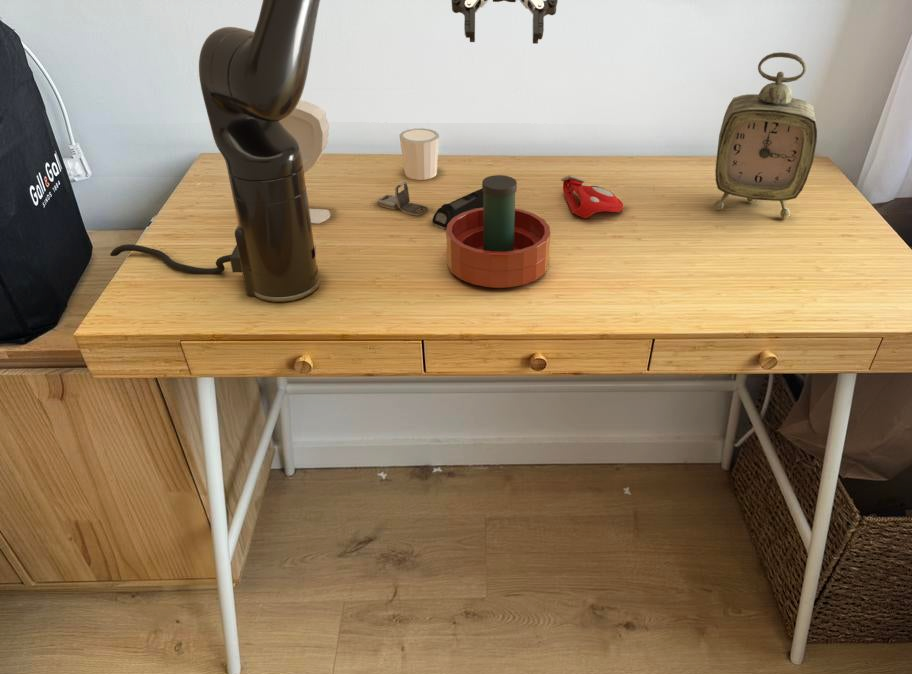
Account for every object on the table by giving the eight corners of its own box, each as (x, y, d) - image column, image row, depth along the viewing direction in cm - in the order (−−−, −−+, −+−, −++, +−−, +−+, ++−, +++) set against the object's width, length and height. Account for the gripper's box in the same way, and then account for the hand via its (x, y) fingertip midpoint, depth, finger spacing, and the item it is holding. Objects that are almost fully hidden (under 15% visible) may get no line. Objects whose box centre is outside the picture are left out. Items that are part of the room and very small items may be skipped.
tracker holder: (632, 196, 136) (616, 205, 127) (622, 220, 138) (606, 231, 129) (568, 166, 138) (548, 174, 130) (559, 190, 140) (539, 199, 132)
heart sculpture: (235, 218, 128) (212, 104, 118) (245, 205, 132) (224, 93, 122) (332, 224, 128) (318, 109, 117) (339, 210, 132) (327, 98, 121)
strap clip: (375, 205, 134) (373, 181, 131) (386, 198, 136) (384, 174, 133) (419, 217, 130) (417, 192, 128) (429, 210, 133) (428, 185, 130)
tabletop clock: (705, 213, 134) (734, 56, 119) (708, 191, 141) (736, 39, 126) (796, 224, 131) (838, 65, 116) (794, 201, 138) (833, 48, 123)
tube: (481, 269, 116) (481, 189, 109) (482, 253, 120) (482, 174, 112) (514, 269, 116) (517, 189, 109) (514, 253, 120) (516, 175, 112)
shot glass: (398, 167, 146) (395, 129, 142) (435, 164, 148) (434, 126, 143) (405, 183, 141) (403, 143, 136) (444, 179, 142) (443, 140, 138)
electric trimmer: (510, 200, 137) (510, 182, 135) (448, 231, 127) (448, 212, 125) (492, 194, 139) (493, 176, 137) (430, 223, 129) (430, 205, 127)
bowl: (445, 292, 112) (444, 253, 109) (449, 242, 124) (448, 205, 120) (550, 293, 113) (553, 254, 109) (545, 243, 124) (547, 207, 121)
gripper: (451, -92, 108) (449, 23, 105) (558, -89, 108) (559, 25, 106) (453, -54, 115) (452, 53, 113) (554, -52, 115) (554, 55, 113)
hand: (504, 39), depth 109 cm, fingers open, 8 cm apart
